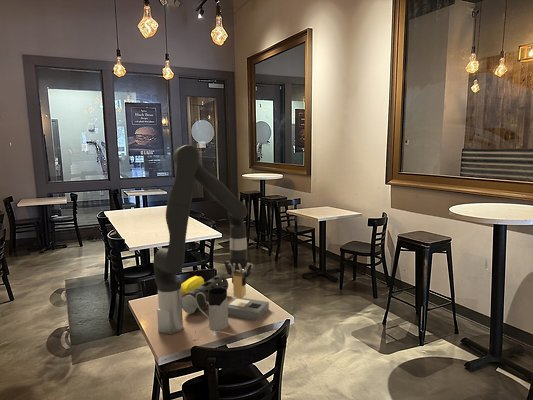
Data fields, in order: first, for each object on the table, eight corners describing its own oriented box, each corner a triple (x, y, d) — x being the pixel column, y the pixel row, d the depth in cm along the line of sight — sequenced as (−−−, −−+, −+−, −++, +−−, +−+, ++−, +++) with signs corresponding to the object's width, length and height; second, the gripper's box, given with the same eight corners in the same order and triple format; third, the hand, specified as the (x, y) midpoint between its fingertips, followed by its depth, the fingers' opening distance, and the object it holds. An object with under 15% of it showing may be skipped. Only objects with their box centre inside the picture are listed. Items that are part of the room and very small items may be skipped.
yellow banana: (175, 296, 190) (189, 298, 187) (175, 283, 189) (188, 285, 186) (195, 284, 206) (207, 286, 203) (194, 272, 205) (207, 274, 202)
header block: (257, 321, 161) (257, 312, 160) (224, 315, 167) (224, 306, 167) (268, 310, 172) (268, 301, 171) (237, 305, 178) (237, 296, 178)
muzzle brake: (229, 295, 190) (228, 275, 189) (198, 318, 165) (197, 295, 163) (212, 293, 194) (212, 273, 192) (179, 315, 168) (178, 292, 167)
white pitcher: (225, 331, 152) (224, 296, 150) (192, 328, 156) (190, 293, 154) (232, 322, 161) (231, 288, 159) (200, 319, 164) (199, 285, 162)
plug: (241, 298, 168) (240, 274, 166) (233, 296, 169) (232, 273, 168) (245, 294, 171) (245, 271, 170) (237, 293, 173) (237, 270, 171)
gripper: (219, 247, 166) (221, 285, 169) (249, 251, 161) (250, 289, 163) (228, 243, 173) (229, 280, 176) (256, 246, 168) (257, 284, 170)
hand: (239, 284), depth 169 cm, fingers closed on plug, 4 cm apart
